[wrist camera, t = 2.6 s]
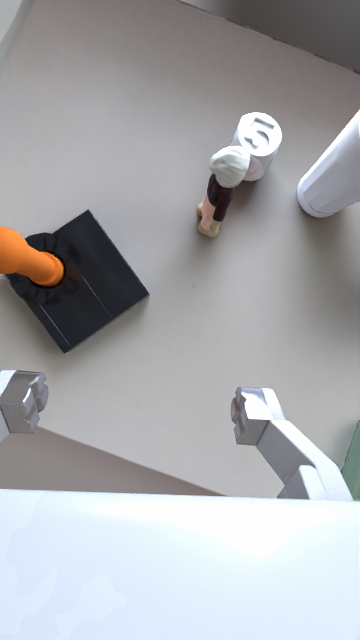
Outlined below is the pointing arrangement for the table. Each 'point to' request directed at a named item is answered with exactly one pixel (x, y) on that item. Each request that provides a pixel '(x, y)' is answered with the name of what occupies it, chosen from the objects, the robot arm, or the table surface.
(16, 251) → the plug
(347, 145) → the cup
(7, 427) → the robot arm
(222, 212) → the grandmother figurine
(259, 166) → the die
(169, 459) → the table surface
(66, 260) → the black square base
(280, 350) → the table surface
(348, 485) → the basin
